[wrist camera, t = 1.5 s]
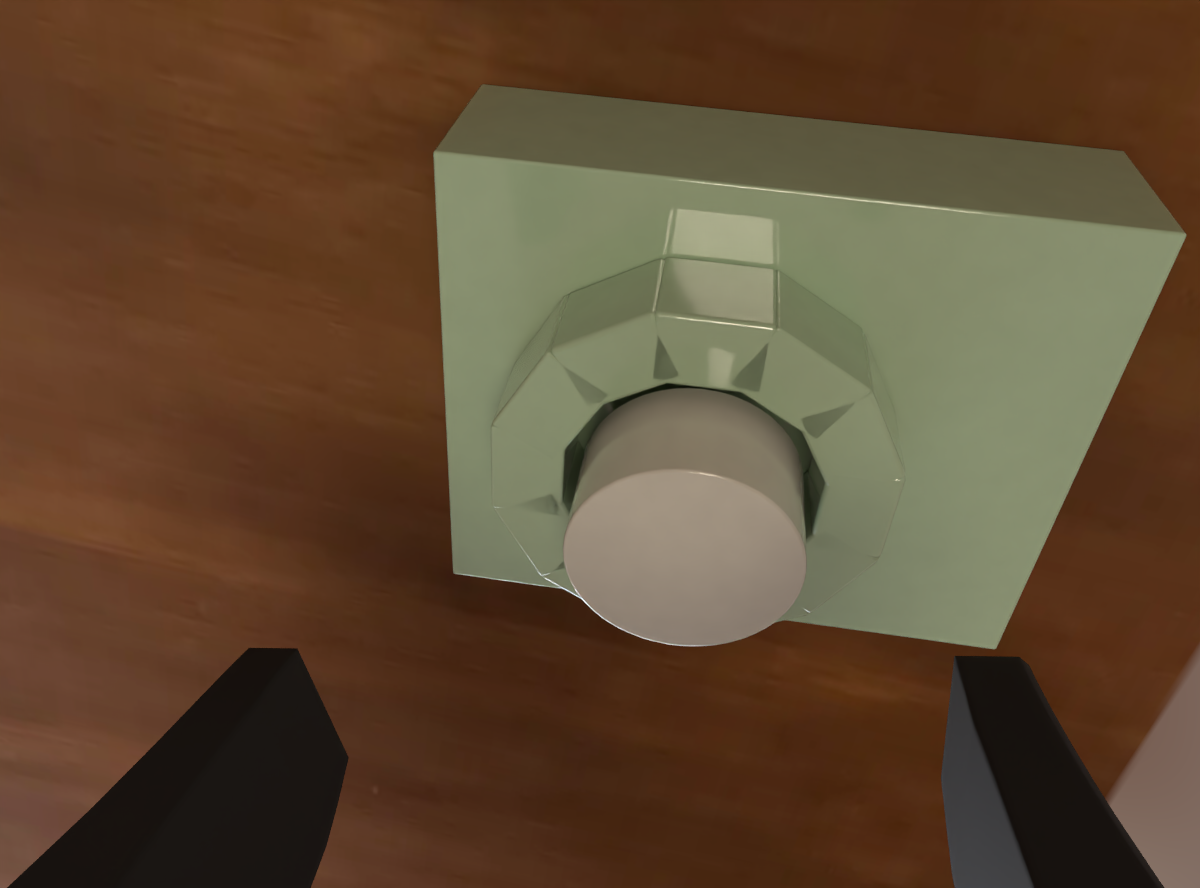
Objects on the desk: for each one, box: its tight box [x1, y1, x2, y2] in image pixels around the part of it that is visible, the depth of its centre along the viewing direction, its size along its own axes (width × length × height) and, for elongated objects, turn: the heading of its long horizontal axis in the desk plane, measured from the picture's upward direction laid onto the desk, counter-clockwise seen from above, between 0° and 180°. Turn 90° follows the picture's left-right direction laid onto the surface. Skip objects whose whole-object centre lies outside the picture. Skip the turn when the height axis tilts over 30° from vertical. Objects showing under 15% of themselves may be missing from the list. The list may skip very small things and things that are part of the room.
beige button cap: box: [563, 388, 807, 646], centre depth 15 cm, size 4×4×2 cm
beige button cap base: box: [433, 84, 1186, 649], centre depth 18 cm, size 11×9×5 cm
